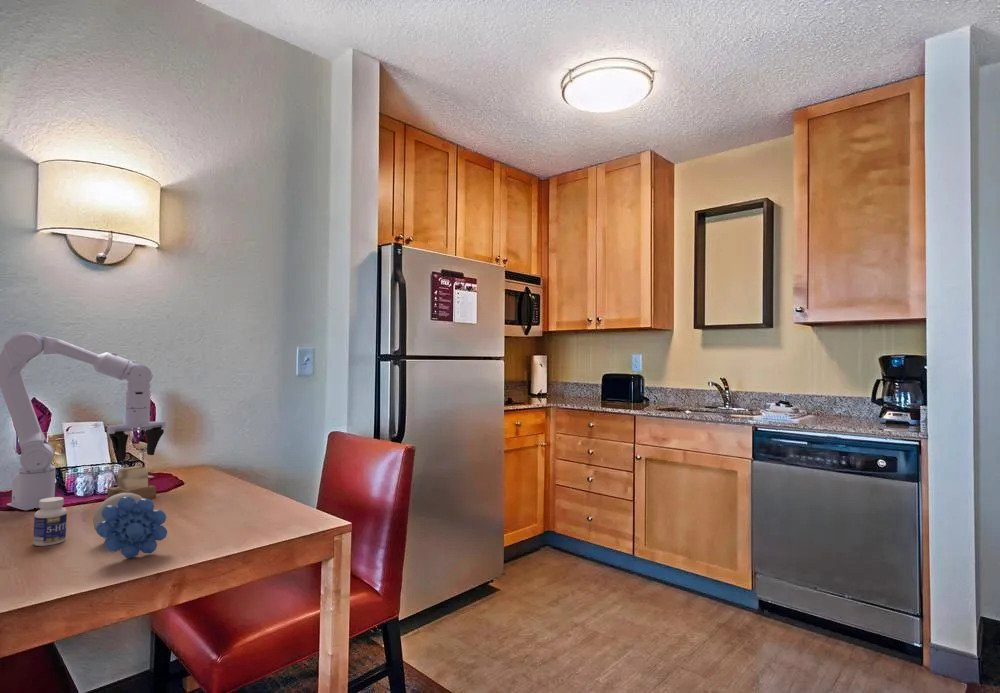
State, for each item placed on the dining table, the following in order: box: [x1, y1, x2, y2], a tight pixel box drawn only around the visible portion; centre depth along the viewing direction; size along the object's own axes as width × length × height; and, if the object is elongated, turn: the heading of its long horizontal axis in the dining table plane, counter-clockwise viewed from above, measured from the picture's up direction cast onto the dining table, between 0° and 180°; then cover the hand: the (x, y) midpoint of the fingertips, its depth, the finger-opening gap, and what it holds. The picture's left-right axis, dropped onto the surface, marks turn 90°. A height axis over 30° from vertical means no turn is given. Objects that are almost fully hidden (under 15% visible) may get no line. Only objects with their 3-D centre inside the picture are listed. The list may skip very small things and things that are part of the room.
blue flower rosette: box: [95, 497, 168, 559], centre depth 107 cm, size 12×7×12 cm, turn 129°
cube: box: [117, 465, 149, 490], centre depth 150 cm, size 5×5×5 cm
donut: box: [92, 493, 143, 540], centre depth 117 cm, size 10×4×10 cm, turn 135°
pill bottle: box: [32, 496, 68, 547], centre depth 115 cm, size 5×5×9 cm
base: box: [106, 484, 157, 500], centre depth 150 cm, size 8×8×3 cm
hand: (136, 456), depth 154 cm, fingers open, 7 cm apart
